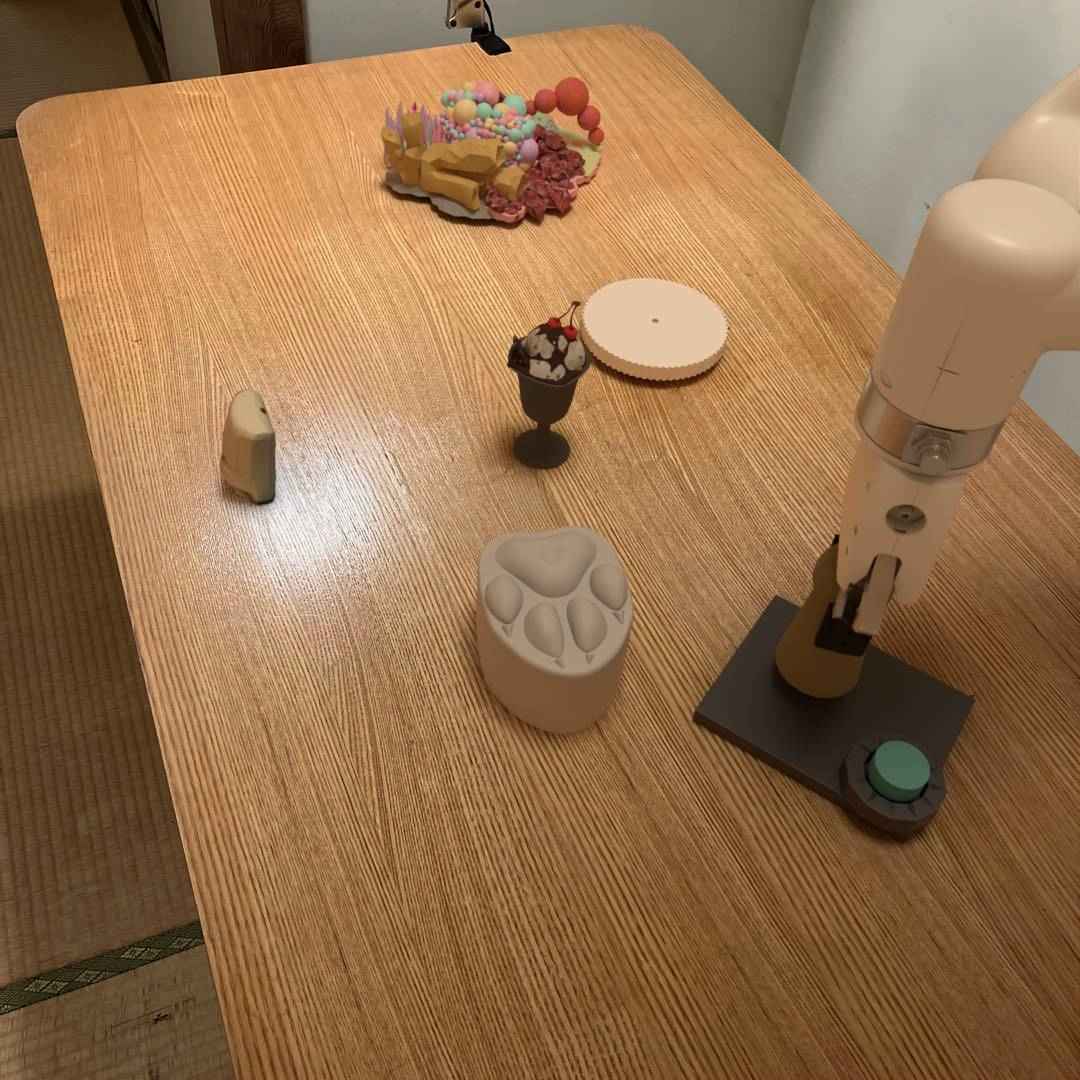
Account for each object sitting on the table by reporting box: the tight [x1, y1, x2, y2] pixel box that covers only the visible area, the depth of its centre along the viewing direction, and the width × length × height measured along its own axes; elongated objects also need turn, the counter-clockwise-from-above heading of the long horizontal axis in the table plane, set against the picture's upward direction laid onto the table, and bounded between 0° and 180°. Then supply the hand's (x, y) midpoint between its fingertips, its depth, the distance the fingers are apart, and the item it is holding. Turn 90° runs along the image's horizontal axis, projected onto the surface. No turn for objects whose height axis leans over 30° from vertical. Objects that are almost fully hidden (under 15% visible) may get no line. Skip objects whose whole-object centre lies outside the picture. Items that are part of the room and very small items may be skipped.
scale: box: [691, 594, 976, 845], centre depth 76 cm, size 17×14×3 cm
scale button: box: [867, 741, 930, 802], centre depth 70 cm, size 4×4×2 cm
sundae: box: [506, 300, 592, 469], centre depth 88 cm, size 7×7×15 cm
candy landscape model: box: [380, 76, 605, 224], centre depth 121 cm, size 25×24×9 cm
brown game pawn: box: [775, 543, 895, 698], centre depth 72 cm, size 6×6×11 cm
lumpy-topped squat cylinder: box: [475, 525, 635, 735], centre depth 76 cm, size 10×13×9 cm
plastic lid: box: [580, 277, 729, 382], centre depth 104 cm, size 14×14×2 cm
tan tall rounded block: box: [219, 388, 277, 506], centre depth 86 cm, size 6×5×8 cm
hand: (841, 611), depth 72 cm, fingers closed on brown game pawn, 5 cm apart
